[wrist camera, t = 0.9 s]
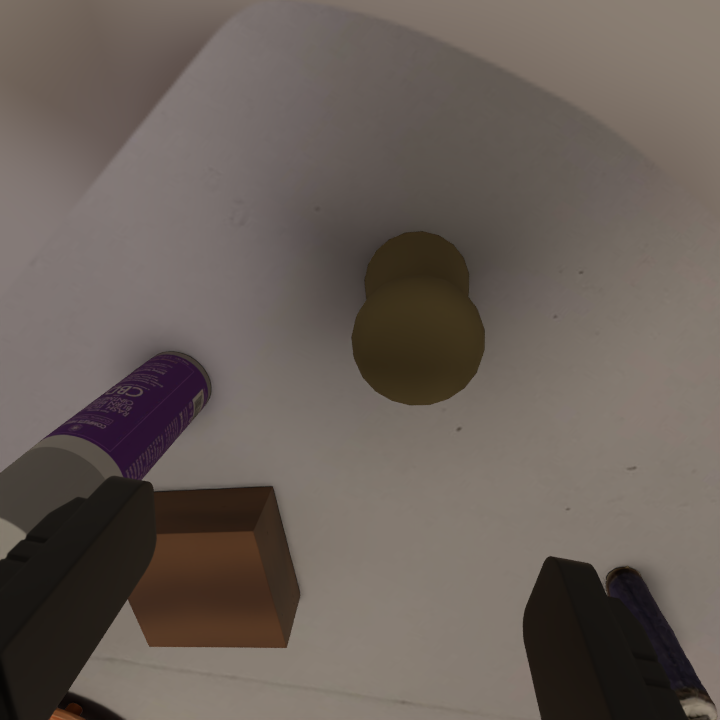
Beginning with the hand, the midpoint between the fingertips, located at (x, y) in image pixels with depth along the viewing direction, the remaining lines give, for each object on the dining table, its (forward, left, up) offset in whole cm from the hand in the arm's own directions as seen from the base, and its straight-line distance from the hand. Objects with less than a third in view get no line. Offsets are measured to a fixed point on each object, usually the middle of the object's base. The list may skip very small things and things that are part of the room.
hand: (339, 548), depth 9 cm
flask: (+21, +22, -20) cm, 36 cm away
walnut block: (+22, -10, -20) cm, 31 cm away
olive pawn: (-1, +1, -20) cm, 20 cm away
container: (+8, -13, -20) cm, 25 cm away
